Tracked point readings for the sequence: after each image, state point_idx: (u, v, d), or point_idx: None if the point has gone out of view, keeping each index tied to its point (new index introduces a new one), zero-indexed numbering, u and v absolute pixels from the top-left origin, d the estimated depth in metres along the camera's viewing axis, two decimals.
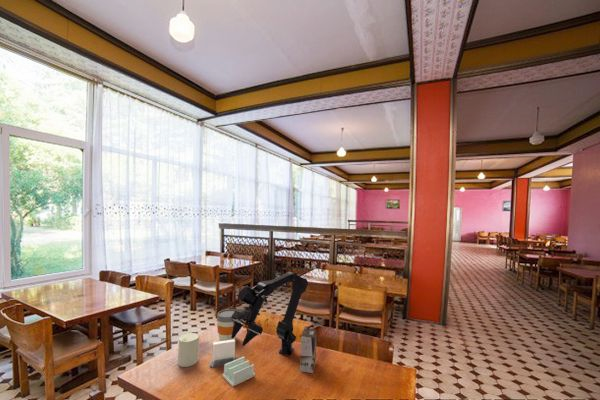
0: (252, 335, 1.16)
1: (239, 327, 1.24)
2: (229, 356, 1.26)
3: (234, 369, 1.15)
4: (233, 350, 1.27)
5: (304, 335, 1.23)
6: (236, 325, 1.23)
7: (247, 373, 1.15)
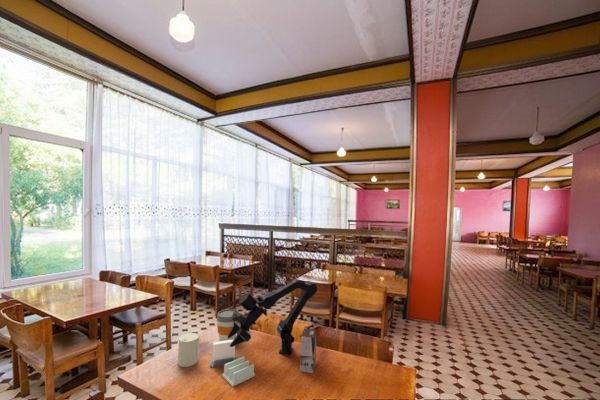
0: (240, 340, 1.24)
1: (237, 330, 1.34)
2: (229, 356, 1.26)
3: (234, 369, 1.15)
4: (233, 350, 1.27)
5: (304, 335, 1.23)
6: (235, 327, 1.34)
7: (247, 373, 1.15)
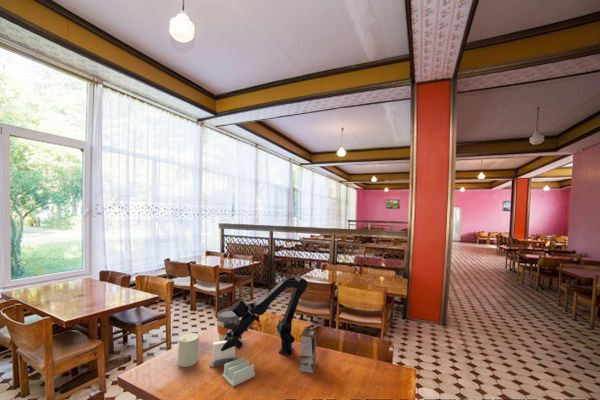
0: (231, 344, 1.25)
1: None
2: (229, 356, 1.26)
3: (234, 369, 1.15)
4: (233, 350, 1.27)
5: (304, 335, 1.23)
6: (228, 337, 1.29)
7: (247, 373, 1.15)
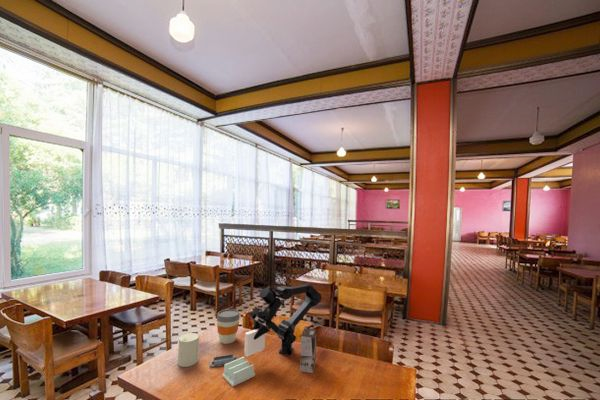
0: (264, 331, 1.25)
1: (259, 328, 1.28)
2: (260, 344, 1.26)
3: (234, 369, 1.15)
4: (263, 337, 1.27)
5: (304, 335, 1.23)
6: (256, 325, 1.28)
7: (247, 373, 1.15)
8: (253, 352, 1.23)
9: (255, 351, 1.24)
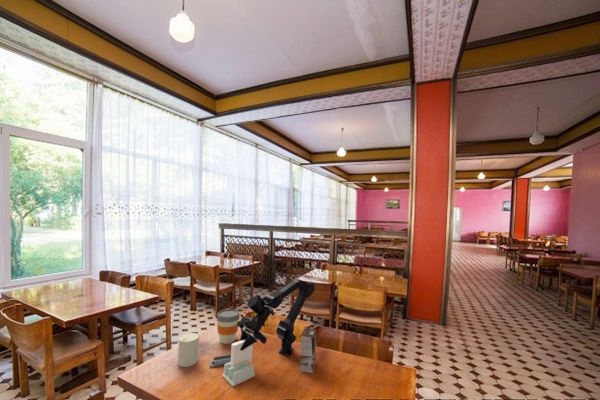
0: (251, 341, 1.20)
1: (246, 338, 1.24)
2: (247, 355, 1.21)
3: (234, 369, 1.15)
4: (251, 348, 1.22)
5: (304, 335, 1.23)
6: (244, 335, 1.23)
7: (247, 373, 1.15)
8: None
9: None
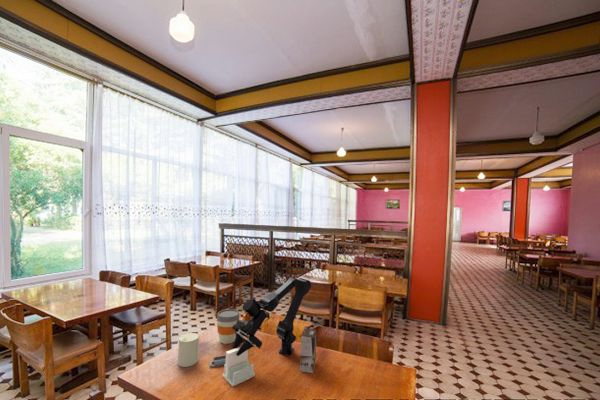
0: (247, 346, 1.18)
1: (240, 341, 1.23)
2: None
3: (234, 369, 1.15)
4: (246, 356, 1.20)
5: (304, 335, 1.23)
6: (238, 338, 1.22)
7: (247, 373, 1.15)
8: None
9: None
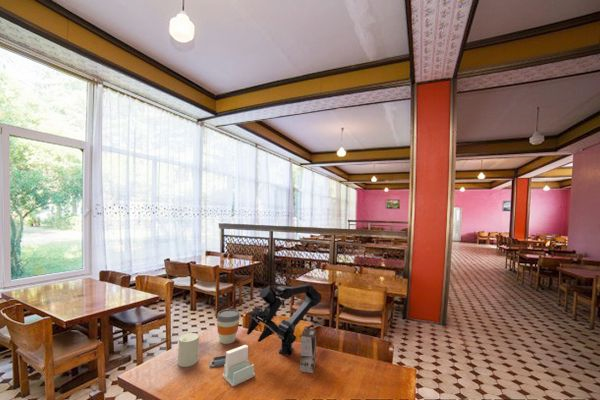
0: (268, 333, 1.23)
1: (255, 325, 1.31)
2: None
3: (234, 369, 1.15)
4: (246, 356, 1.20)
5: (304, 335, 1.23)
6: (253, 322, 1.30)
7: (247, 373, 1.15)
8: None
9: None
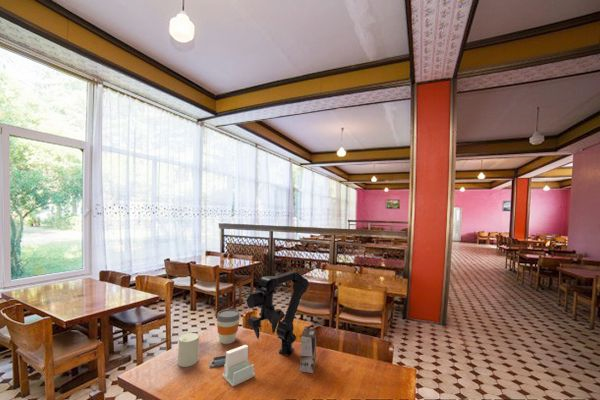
0: None
1: None
2: None
3: (234, 369, 1.15)
4: (246, 356, 1.20)
5: (304, 335, 1.23)
6: None
7: (247, 373, 1.15)
8: None
9: None
